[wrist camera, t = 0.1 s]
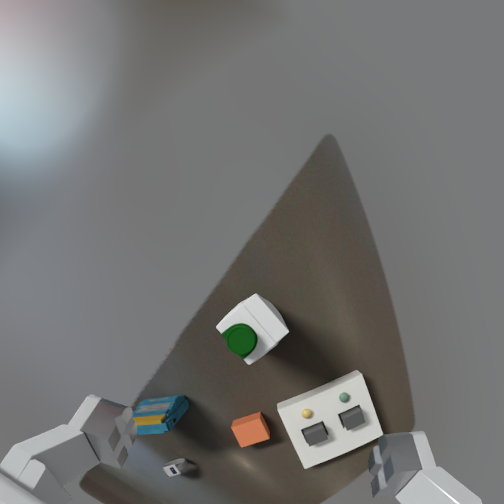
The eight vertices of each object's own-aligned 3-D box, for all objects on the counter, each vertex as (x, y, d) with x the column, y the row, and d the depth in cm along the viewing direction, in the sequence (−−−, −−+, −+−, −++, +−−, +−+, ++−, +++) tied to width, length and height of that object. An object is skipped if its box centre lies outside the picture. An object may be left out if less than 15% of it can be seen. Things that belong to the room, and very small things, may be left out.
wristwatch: (170, 468, 58) (164, 478, 53) (164, 460, 58) (157, 469, 53) (192, 462, 58) (186, 472, 53) (185, 453, 58) (180, 463, 53)
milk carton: (226, 319, 63) (207, 327, 43) (260, 290, 63) (256, 285, 43) (254, 351, 61) (247, 374, 41) (289, 322, 62) (297, 333, 42)
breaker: (359, 414, 56) (365, 422, 51) (342, 422, 56) (347, 430, 51) (355, 403, 56) (361, 410, 52) (338, 411, 56) (342, 419, 52)
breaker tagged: (324, 430, 56) (328, 439, 51) (307, 437, 56) (309, 446, 51) (320, 419, 56) (323, 427, 52) (302, 426, 56) (304, 435, 52)
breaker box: (377, 428, 57) (384, 435, 52) (303, 460, 57) (305, 470, 52) (356, 369, 59) (362, 374, 55) (277, 403, 59) (277, 411, 55)
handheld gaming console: (151, 412, 60) (123, 436, 45) (146, 395, 61) (116, 417, 46) (191, 407, 60) (171, 434, 45) (186, 390, 61) (164, 413, 46)
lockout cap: (269, 431, 58) (269, 438, 54) (242, 439, 58) (241, 447, 54) (260, 411, 59) (259, 418, 55) (233, 420, 59) (231, 427, 55)
